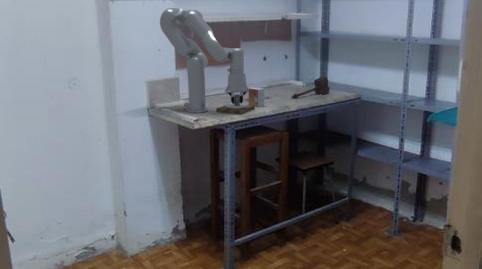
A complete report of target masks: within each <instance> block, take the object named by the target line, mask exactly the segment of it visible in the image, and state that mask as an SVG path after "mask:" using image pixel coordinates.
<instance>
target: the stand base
mask: <svg viewBox="0 0 482 269" xmlns="http://www.w3.org/2000/svg"><path fill="white" fill-rule="evenodd" d="M255 109H256V107H255V106H251V105H249V104H246V108H242V109H229V108H226V107H225V105H222V106H219V107H216V112H217V113H226V114H232V115H233V114H234V115H241V114H242V115H244V114H246V112H247V113H249V112H251V110H252V111H255ZM248 111H249V112H248ZM243 113H244V114H243Z"/></svg>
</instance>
